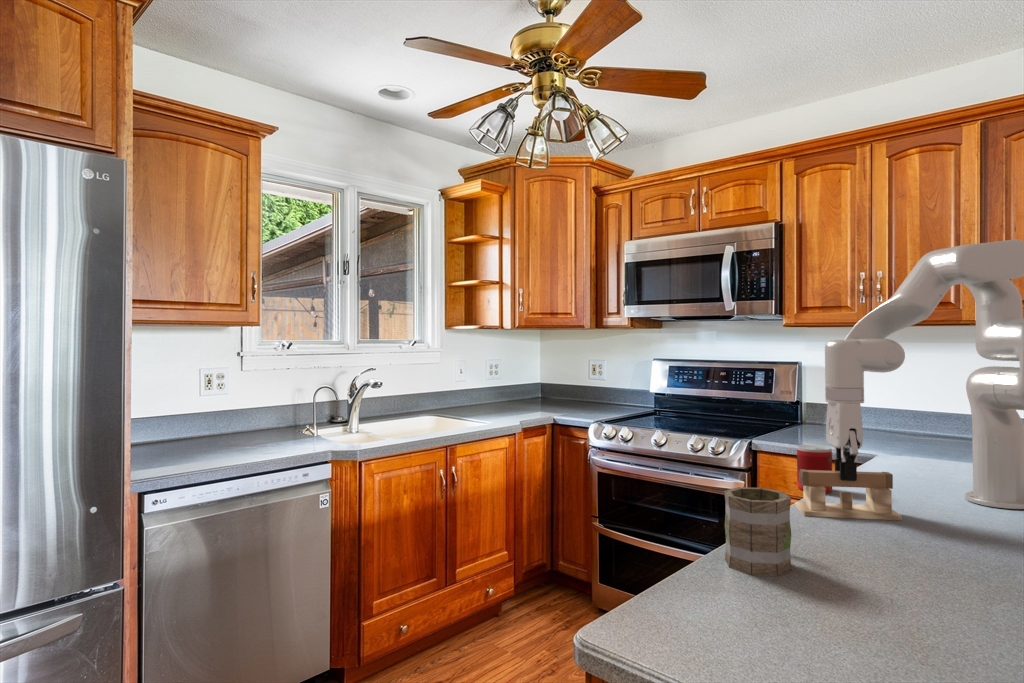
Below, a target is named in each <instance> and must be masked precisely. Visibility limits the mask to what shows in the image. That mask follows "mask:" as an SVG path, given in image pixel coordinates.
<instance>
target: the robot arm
mask: <svg viewBox="0 0 1024 683" xmlns="http://www.w3.org/2000/svg"><path fill="white" fill-rule="evenodd" d="M1022 277H1024V240H1022V239H1007V240H1000V241H991V242H981V243H970V244H962V245H955V246H951V247H945V248H940V249H935V250H932V251H929V252H927V253H925V254H924V255H923V256H922V257H921V258H920V259H919V260H918V261H917V262H916V264H915V265H914V267H913V268H912V269H911V270H910V272H909V274H908V275H907V276H906V277H905V278H904V280H903V282H901V283H900V285H899V287H898V288H897V290H896V291H895V292H894V293H893V295H892V296H890V298H888V299H887V300H885V301H884V302H883V303H881V304H880V305H878V306H877V307H876V308H874V309H873V310H871V311H869V313H867V314H866V315H864V316H863V317H862V318H861V319H860V320H858V321H857V322H856V323H855V324H854V325H853V327H852V328H851V329H850V331H849V332H848V334H846V336H845V337H844V339H833V340H831V339H830V340H829V341H827V342H826V343H825V345H824V371H825V372H824V378H825V379H824V382H825V383H824V384H825V386H824V388H825V390H824V391H825V395H824V396H825V397H824V398H825V402H826V403H827V407H826V408H827V409H826V421H825V422H826V425H825V441H826V443H827V444H829V445H831V446H833V448H834V471H840V479H841V480H842V481H856V480H857V472H858V470H857V469H858V466H857V464H858V455H859V449H861V448H862V447H863V441H864V440H863V437H864V436H863V435H864V434H863V418H862V417H863V416H862V407H861V406H862V405H861V404H864V403H865V388H864V387H865V372H870V373H881V374H883V373H891V372H893V371H895V370H897V369H899V368H900V367H901V366H902V365H903V364H904V362H905V359H906V354H905V349H904V348H903V346H902V345H901V344H900V343H899V342H898V341H895V340H893V339H888V338H887V337H889V336H891V335H892V334H894V333H896V332H898V331H900V330H903V329H905V328H909V327H912V326H914V325H916V324H919V323H921V322H922V321H924V320H926V319H928V318H929V317H931V315H932V314H933V312H934V311H935V309H936V308H937V306H938V305H939V304H940V302H941V301H942V300H943V298H944V297H945V295H946V294H947V293H948V292H949V290H950V289H952V287H953V286H957V285H964V286H966V288H967V289H968V290H969V291H970V293H971V294H972V297H973V299H974V301H975V334H974V335H975V336H974V338H975V340H974V342H975V349H976V352H977V354H978V356H980V357H982V358H983V359H985V360H989V361H1000V362H1001V361H1003V362H1019V367H1018V366H1017V367H1015V366H998V365H997V366H996V365H994V366H991V365H990V366H984V367H983V366H982V367H980V368H977V369H975V370H974V371H972V372H971V373H970V374H969V376H968V377H967V380H966V384H965V390H966V395H967V396H966V397H967V398H968V402H969V406H970V413H971V425H972V427H971V428H972V432H971V433H972V434H971V435H972V436H971V437H972V438H971V439H972V441H971V442H972V490H973V491H967V492H966V493H965V494H964V498H965V500H967V501H969V502H970V503H973V504H977V505H981V506H987V507H991V508H998V509H999V508H1000V509H1007V510H1010V509H1011V510H1024V422H1023V420H1022V417H1021V416H1020V415H1019V413H1018V411H1024V315H1023V314H1024V311H1023V309H1024V308H1023V297H1022V294H1021V292H1020V290H1019V288H1018V287H1017V286H1016V285H1015V283H1013V282H1012V279H1019V278H1022ZM1010 279H1011V280H1010ZM1017 410H1018V411H1017Z"/></svg>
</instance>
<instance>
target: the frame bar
mask: <svg viewBox="0 0 1024 683" xmlns="http://www.w3.org/2000/svg"><path fill="white" fill-rule="evenodd" d="M893 481H894V479H893V473H891V472H889V471H881V472H880V471H857V480H856V481H842V480H841V479H840V471H835V470H832V471H822V470H805V469H800V484H802V485H803V486H830V487H832V488H833V487H835V488H836V487H837V488H838V487H839V488H862V489H866V488H887V489H890V490H893V487H894V483H893Z"/></svg>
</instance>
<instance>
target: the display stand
mask: <svg viewBox="0 0 1024 683" xmlns="http://www.w3.org/2000/svg"><path fill="white" fill-rule="evenodd" d="M802 492H803V494H802V495H803V497H802V498H803V501H795V505H794V506H795V507H796V509H798V511H799V512H800V513H801V514H802V515H803V516H804V517H819V518H821V517H823V518H839V519H840V518H842V519H843V518H845V519H862V520H863V519H865V520H866V519H867V520H886V521H887V520H889V521H902V518H903V516H902V515H901V514H900V513H898V512H897V511H895V510H894V509H893V507H892V506H893V505H892V503H893V502H892V500H893V499H892V496H893V495H892V489H887V488H865V504H859V503H858V504H856V503H855V504H854V503H853V493H852V492H850V491H839V503H834V502H833V503H830V502H829V503H827V502H826V494H825V488H824V487H823V486H803V491H802Z"/></svg>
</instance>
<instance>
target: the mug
mask: <svg viewBox="0 0 1024 683" xmlns="http://www.w3.org/2000/svg"><path fill="white" fill-rule="evenodd" d="M723 493H724V500H725V502H724V503H725V515H724V530H725V531H724V532H725V533H724V534H725V555H724V561H725V562H726V564H727V566H728V568H729V569H732V570H734V571H735V570H736V571H738V572H741V573H744V574H747V575H751V576H757V577H758V576H760V577H761V576H763V577H782V575H785V574H788V573H790V572H792V571H793V567H792V560H791V545H792V544H791V543H792V528H791V518H790V517H791V514H790V513H791V502H792V497H791V496H789V495H788V494H786V492H784V491H779V490H776V489H775V490H774V489H770V488H764V487H746V486H745V487H744V486H743V487H740V486H739V487H734V488H729V489H726V490H723Z"/></svg>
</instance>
